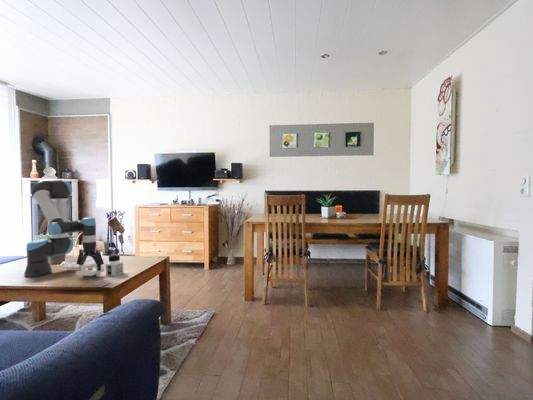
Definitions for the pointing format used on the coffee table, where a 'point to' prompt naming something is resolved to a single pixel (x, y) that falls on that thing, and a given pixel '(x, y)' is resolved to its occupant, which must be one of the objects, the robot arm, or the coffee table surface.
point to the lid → (88, 271)
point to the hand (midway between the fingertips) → (90, 275)
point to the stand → (89, 277)
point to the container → (114, 266)
